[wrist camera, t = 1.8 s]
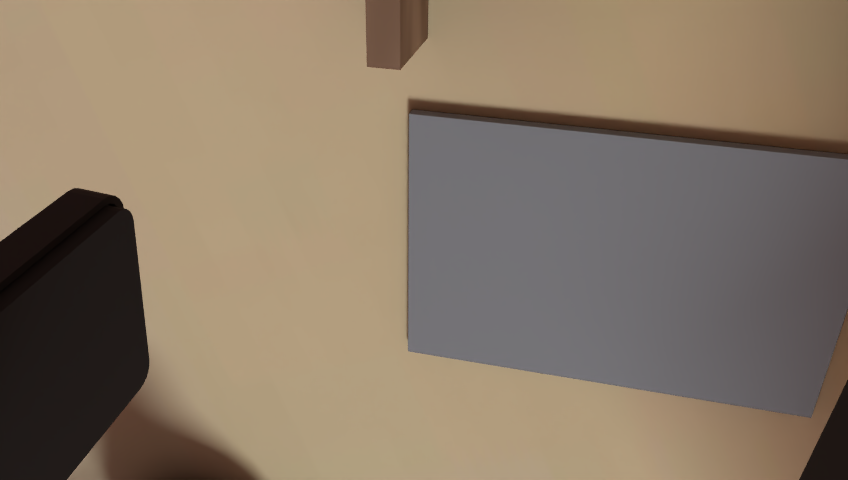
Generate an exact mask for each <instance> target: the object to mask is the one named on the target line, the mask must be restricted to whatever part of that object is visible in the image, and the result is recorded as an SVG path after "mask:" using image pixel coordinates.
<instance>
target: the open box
mask: <svg viewBox="0 0 848 480" xmlns="http://www.w3.org/2000/svg"><path fill="white" fill-rule="evenodd" d="M427 38H428V0H366V44H367V67H375V68H385V69H396V70H401V68H402V67H403V66H404V65H405V64H406V63H407V61H408V60H409V59H410V58H411V57H412V56H413V54H414V53H415V52H416V51H417V50H418V49H419V47H420V46H421V45H422V44H423V43H424V42H425V40H426V39H427Z"/></svg>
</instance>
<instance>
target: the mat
mask: <svg viewBox="0 0 848 480" xmlns="http://www.w3.org/2000/svg"><path fill="white" fill-rule="evenodd" d="M847 310H848V154H839V153H829V152H819V151H810V150H800V149H790V148H781V147H771V146H761V145H751V144H742V143H732V142H722V141H713V140H703V139H693V138H684V137H674V136H664V135H655V134H645V133H635V132H625V131H616V130H606V129H596V128H587V127H577V126H567V125H558V124H548V123H538V122H528V121H519V120H509V119H499V118H490V117H480V116H470V115H461V114H451V113H441V112H431V111H422V110H412V111H411V112H410V113H409V255H408V351H410V352H416V353H422V354H428V355H434V356H440V357H446V358H452V359H458V360H464V361H470V362H476V363H482V364H488V365H494V366H501V367H507V368H513V369H519V370H525V371H531V372H537V373H543V374H549V375H555V376H561V377H567V378H573V379H579V380H585V381H591V382H597V383H603V384H609V385H615V386H622V387H628V388H634V389H640V390H646V391H652V392H658V393H664V394H670V395H676V396H682V397H688V398H694V399H700V400H706V401H712V402H718V403H724V404H730V405H736V406H743V407H749V408H755V409H761V410H767V411H773V412H779V413H785V414H791V415H797V416H803V417H809V418H811V417H812V414H813V411H814V408H815V405H816V402H817V399H818V396H819V393H820V390H821V387H822V384H823V381H824V378H825V375H826V372H827V369H828V366H829V363H830V360H831V357H832V354H833V351H834V349H835V346H836V343H837V340H838V337H839V334H840V331H841V328H842V325H843V322H844V319H845V316H846V313H847Z"/></svg>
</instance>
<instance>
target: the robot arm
mask: <svg viewBox="0 0 848 480" xmlns="http://www.w3.org/2000/svg"><path fill="white" fill-rule="evenodd" d="M148 370H149V353H148V344H147V336H146V327H145V318H144V309H143V300H142V291H141V282H140V273H139V264H138V255H137V246H136V237H135V229H134V220H133V216H132V214H131V212H130V211H129V210H127V209H124V207H123V204H122V202H121V200H120V199H119V198H117V197H116V196H113V195H108V194H103V193H99V192H94V191H89V190H84V189H79V188H74V189H72V190H70V191H68V192H66V193H65V194H64V195H62V196H61V197H60V198H58V199H57V200H56V201H54V202H53V203H52V204H50V205H49V206H48V207H46V208H45V209H44V210H42V211H41V212H40V213H38V214H37V215H35V216H34V217H33V218H31V219H30V220H29V221H27V222H26V223H25V224H23V225H22V226H21V227H19V228H18V229H17V230H15V231H14V232H13V233H11V234H10V235H9V236H7V237H6V238H5V239H3V240H2V241H1V242H0V480H67V479H68V477H69V476H70V475H71V474H72V472H73V471H74V470H75V469H76V468H77V466H78V465H79V464H80V463H81V461H82V460H83V459H84V458H85V456H86V455H87V454H88V453H89V451H90V450H91V449H92V448H93V446H94V445H95V444H96V443H97V442H98V440H99V439H100V438H101V437H102V435H103V434H104V433H105V432H106V430H107V429H108V428H109V427H110V425H111V424H112V423H113V422H114V421H115V419H116V418H117V417H118V416H119V414H120V413H121V412H122V411H123V409H124V408H125V407H126V406H127V404H128V403H129V402H130V401H131V399H132V398H133V397H134V396H135V395H136V393H137V392H138V391H139V390H140V388H141V387H142V385H143V384H144V382H145V379H146V377H147V374H148ZM799 480H848V380H847V383H846V385H845V387H844V389H843V391H842V393H841V395H840V397H839V399H838V401H837V403H836V405H835V407H834V409H833V411H832V413H831V415H830V418H829V420H828V422H827V424H826V426H825V428H824V430H823V432H822V434H821V436H820V438H819V440H818V442H817V444H816V446H815V448H814V450H813V453H812V455H811V457H810V459H809V461H808V463H807V465H806V467H805V469H804V471H803V473H802V475H801V477H800V479H799Z"/></svg>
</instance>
